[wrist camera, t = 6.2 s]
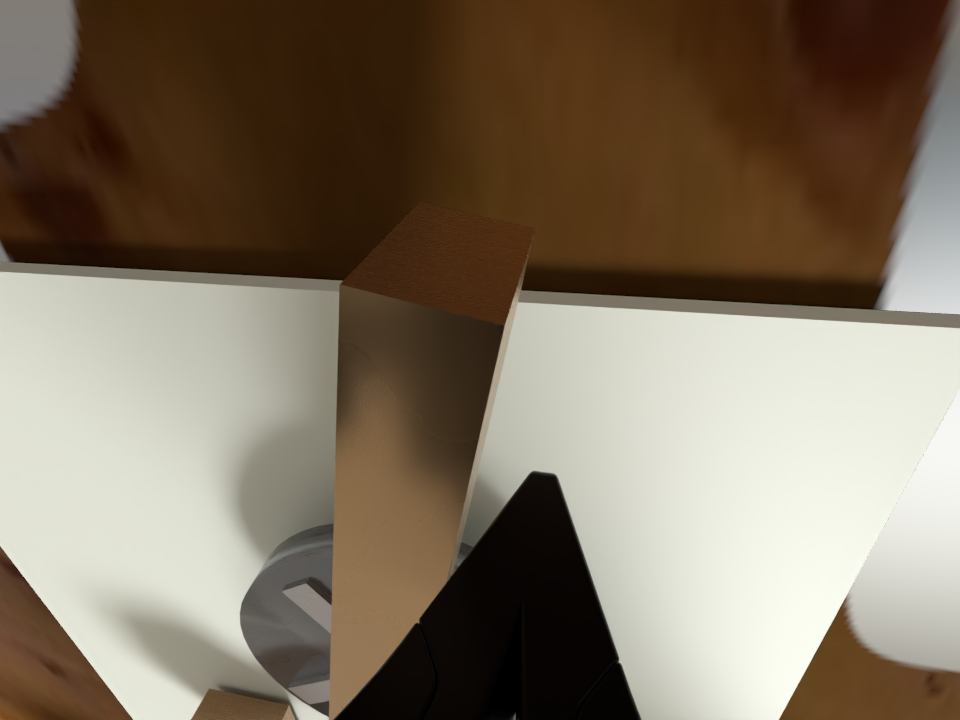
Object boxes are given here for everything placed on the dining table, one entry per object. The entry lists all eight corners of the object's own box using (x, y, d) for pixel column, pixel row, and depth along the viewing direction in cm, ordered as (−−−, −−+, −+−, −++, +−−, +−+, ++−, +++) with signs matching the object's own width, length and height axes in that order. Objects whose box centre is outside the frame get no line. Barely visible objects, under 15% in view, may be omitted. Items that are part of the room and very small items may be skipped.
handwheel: (501, 137, 9) (431, 222, 5) (831, 669, 14) (905, 885, 11) (55, 453, 16) (-102, 580, 12) (393, 729, 21) (352, 871, 18)
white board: (973, 315, 11) (1033, 365, 9) (706, 832, 25) (712, 883, 24) (-194, 251, 16) (-277, 275, 14) (141, 708, 30) (117, 744, 29)
